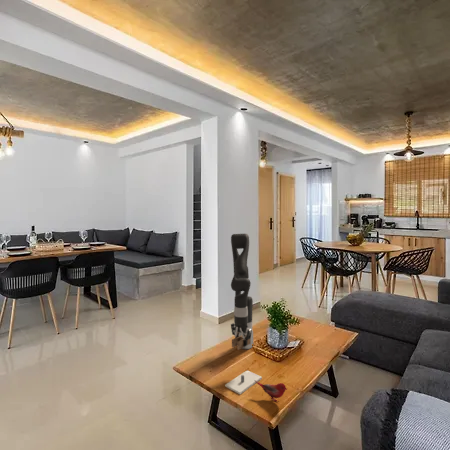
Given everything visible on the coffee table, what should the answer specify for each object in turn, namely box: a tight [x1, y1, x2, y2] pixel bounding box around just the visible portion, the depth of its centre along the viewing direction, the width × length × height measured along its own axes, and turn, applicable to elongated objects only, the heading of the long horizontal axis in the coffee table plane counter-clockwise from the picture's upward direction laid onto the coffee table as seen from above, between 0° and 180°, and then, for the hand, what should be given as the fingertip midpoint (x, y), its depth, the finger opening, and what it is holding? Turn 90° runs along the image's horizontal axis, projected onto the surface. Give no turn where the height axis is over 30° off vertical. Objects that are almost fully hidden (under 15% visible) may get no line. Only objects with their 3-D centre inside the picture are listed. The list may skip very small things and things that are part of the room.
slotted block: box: [231, 335, 251, 351], centre depth 169 cm, size 10×5×4 cm, turn 136°
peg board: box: [224, 369, 263, 395], centre depth 161 cm, size 18×10×4 cm, turn 137°
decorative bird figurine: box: [255, 381, 288, 402], centre depth 147 cm, size 3×18×10 cm, turn 53°
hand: (241, 344), depth 169 cm, fingers closed on slotted block, 5 cm apart
